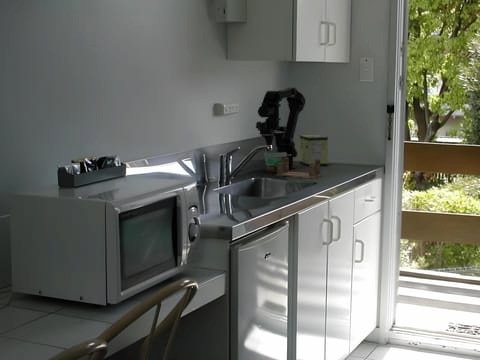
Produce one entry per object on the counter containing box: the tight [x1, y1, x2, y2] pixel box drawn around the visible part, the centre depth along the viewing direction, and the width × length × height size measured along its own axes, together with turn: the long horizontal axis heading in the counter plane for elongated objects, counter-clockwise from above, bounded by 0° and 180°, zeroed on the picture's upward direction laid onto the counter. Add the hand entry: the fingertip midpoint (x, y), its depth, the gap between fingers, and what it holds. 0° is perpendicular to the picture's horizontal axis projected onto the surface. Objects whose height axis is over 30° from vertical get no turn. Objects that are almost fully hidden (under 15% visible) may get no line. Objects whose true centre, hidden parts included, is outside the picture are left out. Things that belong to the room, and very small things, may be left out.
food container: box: [263, 150, 288, 174], centre depth 365 cm, size 12×6×10 cm, turn 62°
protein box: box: [299, 134, 329, 168], centre depth 391 cm, size 10×16×16 cm
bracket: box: [275, 157, 322, 179], centre depth 351 cm, size 10×19×8 cm, turn 62°
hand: (273, 147), depth 364 cm, fingers open, 9 cm apart
